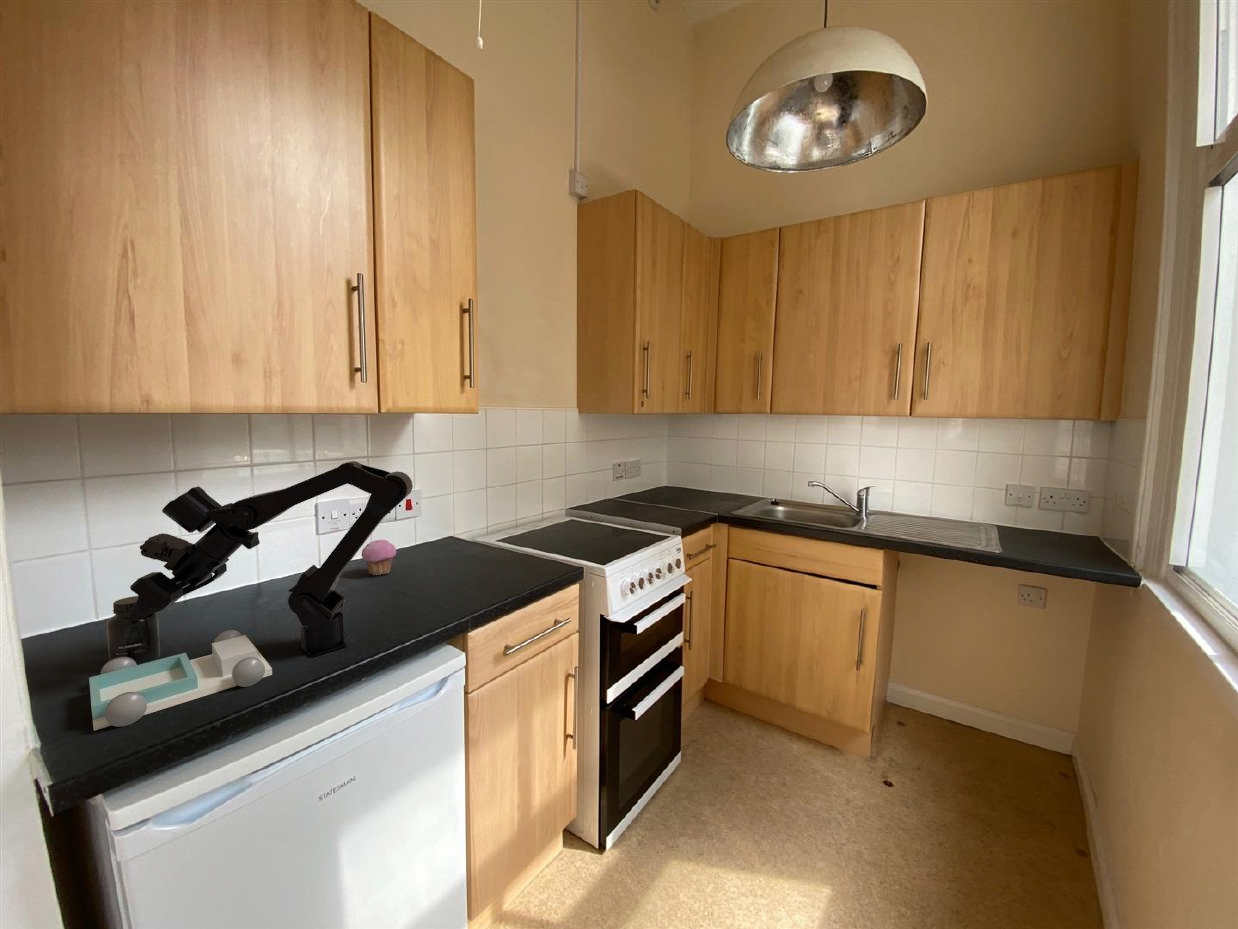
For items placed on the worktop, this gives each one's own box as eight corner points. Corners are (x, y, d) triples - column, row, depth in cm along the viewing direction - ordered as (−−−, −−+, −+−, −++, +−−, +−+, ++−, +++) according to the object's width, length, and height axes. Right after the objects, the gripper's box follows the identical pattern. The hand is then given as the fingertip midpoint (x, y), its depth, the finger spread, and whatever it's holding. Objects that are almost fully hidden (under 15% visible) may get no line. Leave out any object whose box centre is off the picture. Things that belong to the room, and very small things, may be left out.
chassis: (250, 646, 100) (249, 625, 100) (274, 678, 89) (273, 654, 88) (90, 690, 84) (88, 665, 84) (94, 736, 73) (91, 707, 72)
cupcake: (389, 568, 151) (388, 535, 150) (401, 574, 145) (400, 540, 144) (357, 574, 145) (356, 540, 144) (369, 581, 139) (367, 546, 138)
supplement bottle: (123, 675, 89) (117, 609, 88) (101, 667, 92) (95, 603, 90) (169, 657, 96) (164, 596, 94) (148, 651, 98) (142, 591, 97)
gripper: (205, 510, 102) (145, 566, 100) (139, 531, 84) (65, 600, 82) (252, 547, 104) (193, 602, 103) (197, 575, 86) (126, 643, 85)
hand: (148, 610), depth 93 cm, fingers open, 9 cm apart
